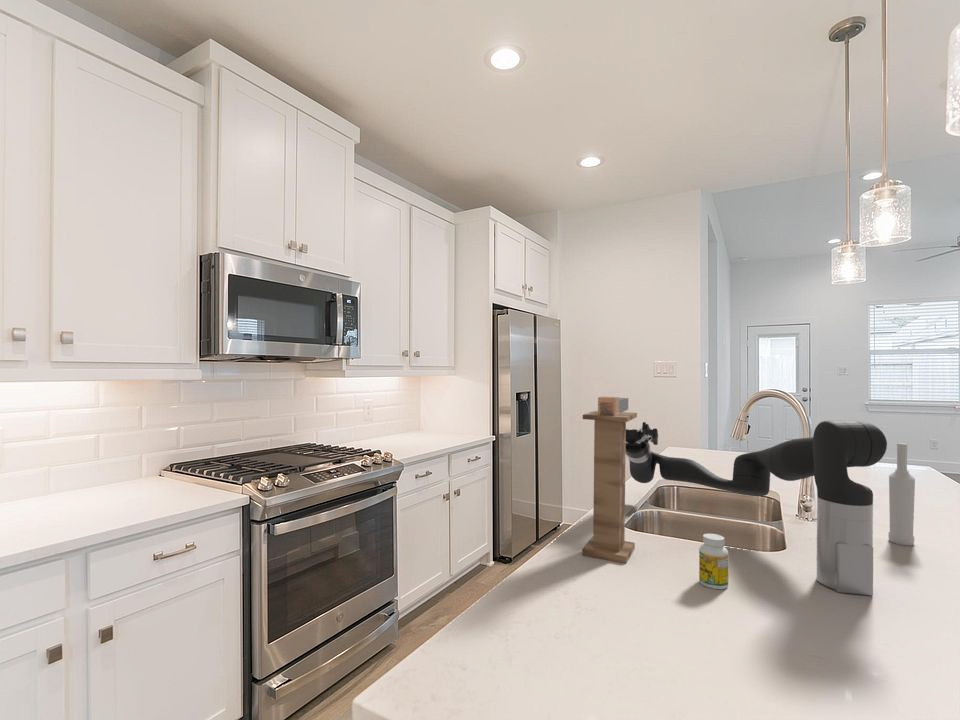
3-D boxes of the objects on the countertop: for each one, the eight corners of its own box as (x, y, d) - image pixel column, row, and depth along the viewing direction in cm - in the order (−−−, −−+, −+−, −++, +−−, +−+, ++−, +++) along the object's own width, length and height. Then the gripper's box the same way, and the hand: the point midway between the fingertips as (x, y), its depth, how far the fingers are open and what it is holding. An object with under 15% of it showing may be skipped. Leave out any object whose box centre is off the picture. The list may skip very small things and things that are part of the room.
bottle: (904, 539, 131) (905, 442, 131) (920, 546, 126) (920, 445, 126) (883, 538, 131) (884, 441, 132) (897, 545, 126) (898, 445, 126)
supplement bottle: (734, 588, 101) (734, 539, 101) (712, 591, 99) (712, 542, 99) (714, 577, 106) (714, 531, 106) (693, 580, 104) (693, 533, 104)
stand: (594, 540, 127) (595, 410, 127) (635, 547, 122) (636, 412, 123) (581, 556, 116) (582, 414, 116) (625, 564, 112) (627, 417, 112)
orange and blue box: (614, 409, 133) (614, 393, 133) (630, 409, 131) (630, 394, 131) (597, 414, 117) (598, 397, 117) (615, 415, 115) (615, 398, 115)
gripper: (660, 461, 146) (653, 439, 133) (610, 456, 152) (599, 434, 140) (662, 436, 149) (655, 413, 137) (613, 433, 155) (603, 410, 143)
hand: (627, 424), depth 138 cm, fingers open, 8 cm apart
